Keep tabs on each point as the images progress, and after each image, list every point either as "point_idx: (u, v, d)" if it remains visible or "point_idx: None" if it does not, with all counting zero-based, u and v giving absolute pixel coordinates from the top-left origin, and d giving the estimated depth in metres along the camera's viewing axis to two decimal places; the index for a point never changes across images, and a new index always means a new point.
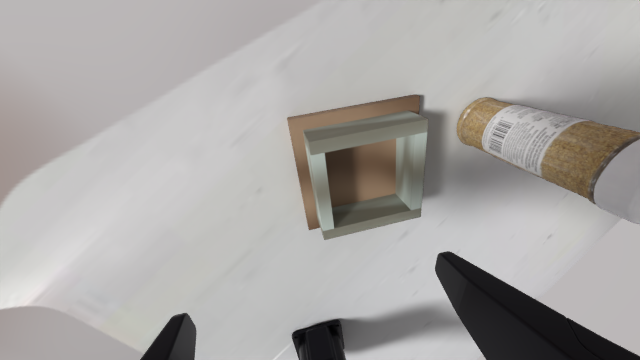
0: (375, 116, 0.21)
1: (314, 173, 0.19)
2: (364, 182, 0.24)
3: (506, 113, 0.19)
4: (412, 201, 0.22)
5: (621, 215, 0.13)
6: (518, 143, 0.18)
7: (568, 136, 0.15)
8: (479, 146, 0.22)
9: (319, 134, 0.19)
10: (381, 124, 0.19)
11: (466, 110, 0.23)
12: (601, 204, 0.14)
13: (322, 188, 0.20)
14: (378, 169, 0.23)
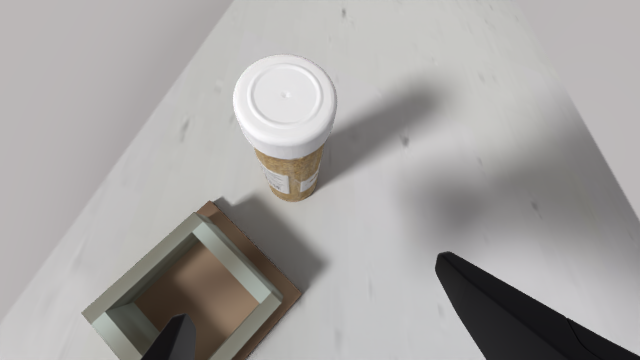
0: None
1: (106, 341, 0.16)
2: (218, 309, 0.20)
3: None
4: (251, 292, 0.17)
5: (283, 149, 0.11)
6: (263, 170, 0.17)
7: None
8: (287, 194, 0.20)
9: None
10: None
11: None
12: (278, 155, 0.12)
13: (126, 352, 0.16)
14: (223, 285, 0.20)
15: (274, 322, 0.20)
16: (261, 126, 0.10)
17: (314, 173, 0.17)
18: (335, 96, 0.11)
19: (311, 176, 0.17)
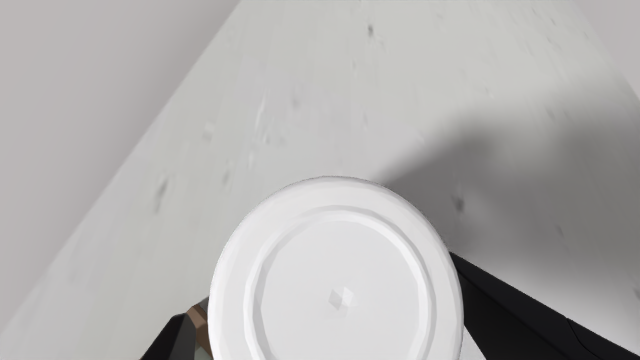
0: None
1: None
2: None
3: None
4: None
5: None
6: None
7: None
8: None
9: None
10: None
11: None
12: None
13: None
14: None
15: None
16: None
17: None
18: (459, 289, 0.05)
19: None
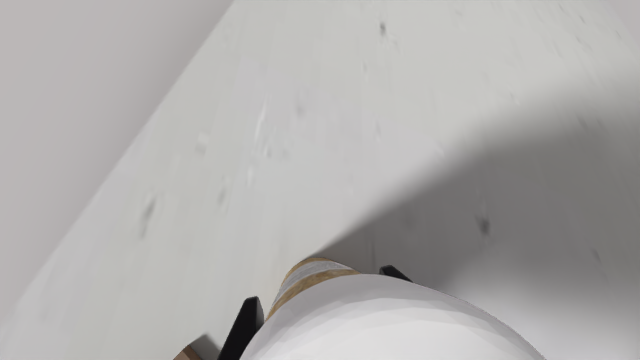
0: None
1: None
2: None
3: None
4: None
5: None
6: None
7: None
8: None
9: None
10: None
11: None
12: None
13: None
14: None
15: None
16: None
17: None
18: None
19: None
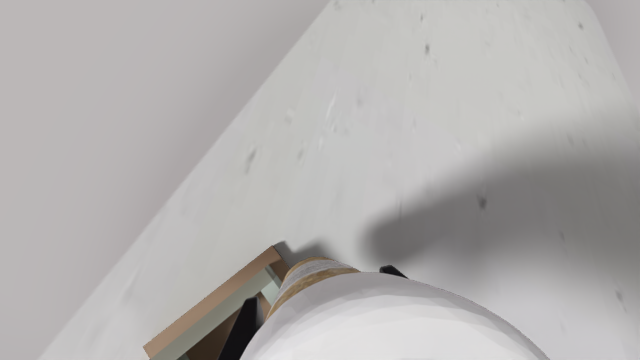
0: (237, 289, 0.19)
1: None
2: None
3: None
4: None
5: None
6: None
7: None
8: None
9: None
10: None
11: None
12: None
13: None
14: None
15: None
16: None
17: None
18: None
19: None
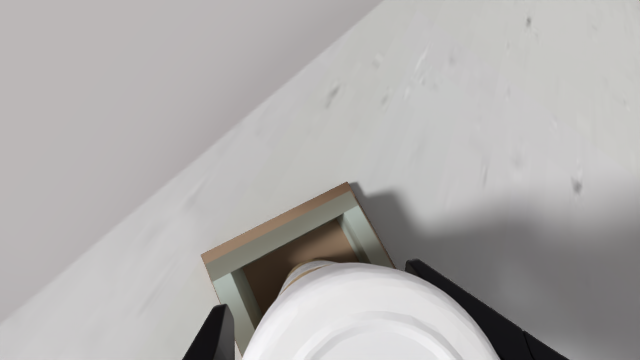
0: None
1: None
2: None
3: None
4: None
5: None
6: None
7: None
8: None
9: None
10: None
11: None
12: None
13: (243, 330, 0.13)
14: None
15: None
16: None
17: None
18: None
19: None
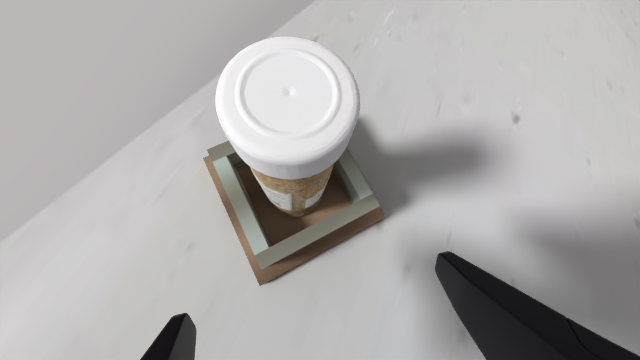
0: None
1: (222, 180, 0.17)
2: None
3: None
4: (355, 187, 0.18)
5: (287, 168, 0.08)
6: None
7: None
8: (289, 210, 0.17)
9: None
10: None
11: None
12: (279, 176, 0.08)
13: (235, 195, 0.17)
14: None
15: (354, 231, 0.20)
16: (255, 137, 0.07)
17: (322, 188, 0.14)
18: (358, 93, 0.08)
19: (319, 192, 0.14)
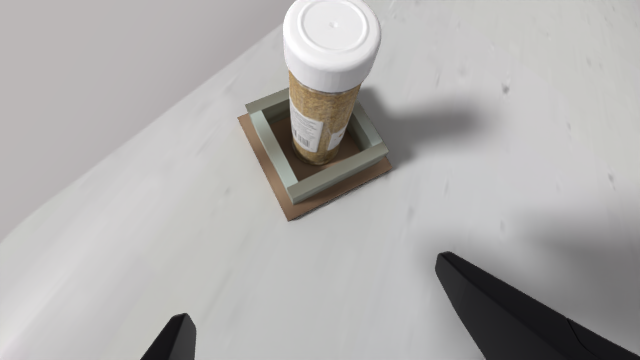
0: None
1: (258, 129, 0.21)
2: None
3: None
4: (368, 136, 0.22)
5: (332, 76, 0.11)
6: (295, 122, 0.17)
7: (289, 83, 0.15)
8: (314, 154, 0.21)
9: None
10: None
11: (292, 143, 0.23)
12: (324, 87, 0.12)
13: (269, 140, 0.21)
14: None
15: (366, 179, 0.24)
16: (312, 51, 0.11)
17: (344, 126, 0.18)
18: (380, 27, 0.12)
19: (341, 129, 0.18)
